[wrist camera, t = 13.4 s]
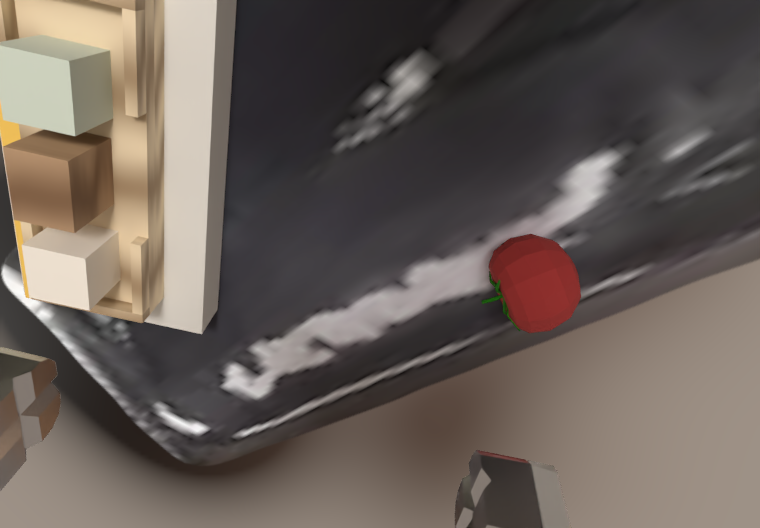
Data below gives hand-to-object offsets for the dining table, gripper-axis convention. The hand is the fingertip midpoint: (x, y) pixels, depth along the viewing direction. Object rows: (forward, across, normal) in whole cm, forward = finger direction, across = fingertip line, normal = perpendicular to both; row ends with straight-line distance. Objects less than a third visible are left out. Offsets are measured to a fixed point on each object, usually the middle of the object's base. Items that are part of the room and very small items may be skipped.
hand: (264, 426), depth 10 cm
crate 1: (+27, +20, +3) cm, 34 cm away
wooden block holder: (+30, +20, +9) cm, 37 cm away
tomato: (+34, -14, +12) cm, 39 cm away
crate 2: (+27, +20, +16) cm, 37 cm away
